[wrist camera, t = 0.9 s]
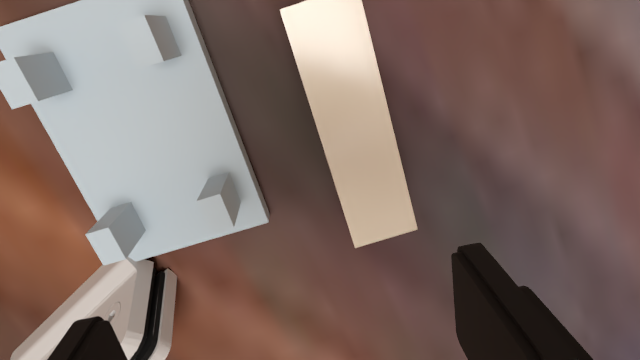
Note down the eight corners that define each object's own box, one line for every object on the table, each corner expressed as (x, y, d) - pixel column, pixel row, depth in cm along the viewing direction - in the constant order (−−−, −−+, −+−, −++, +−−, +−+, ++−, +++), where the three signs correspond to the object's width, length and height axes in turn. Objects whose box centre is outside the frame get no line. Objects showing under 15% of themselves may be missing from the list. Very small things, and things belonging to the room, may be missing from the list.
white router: (130, 237, 33) (118, 347, 25) (179, 260, 36) (181, 365, 28) (9, 355, 36) (-34, 483, 28) (63, 367, 39) (37, 487, 31)
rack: (269, 213, 33) (265, 249, 28) (129, 255, 33) (100, 297, 28) (178, -27, 26) (150, -39, 21) (5, 29, 27) (-63, 31, 22)
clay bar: (398, 197, 33) (417, 229, 28) (345, 213, 34) (355, 248, 28) (345, -10, 28) (357, -17, 22) (281, 11, 28) (279, 9, 23)
